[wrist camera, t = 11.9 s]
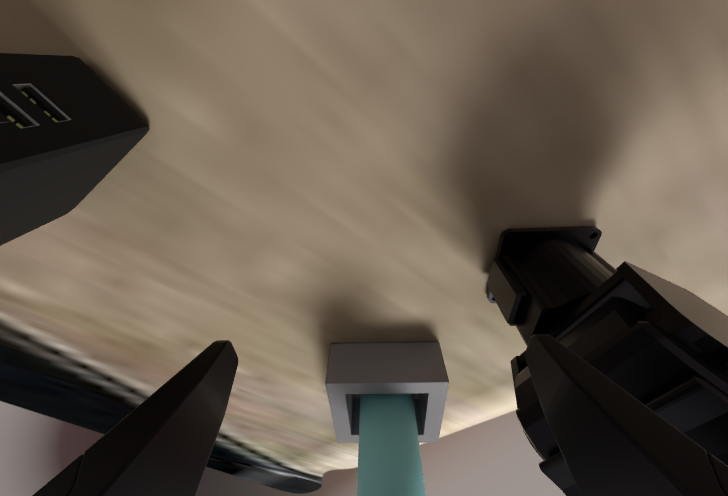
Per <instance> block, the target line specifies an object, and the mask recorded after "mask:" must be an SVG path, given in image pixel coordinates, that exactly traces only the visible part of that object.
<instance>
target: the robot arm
mask: <svg viewBox="0 0 728 496" xmlns="http://www.w3.org/2000/svg"><path fill="white" fill-rule="evenodd" d="M592 233H593V234H592ZM590 234H592V235H590ZM601 234H602V233H601V231H600V230H599V229H598V228H596V227H593V226H588V227H558V228H528V229H508V230H505V231H504V232H503V233H502V235H501V238H500V242H499V246H498V251H497V255H496V257H495V258H494V259H493V261H492V266H491V270H490V274H489V279H488V283H487V286H488V293H487V298H488V300H489V302H491V303H497V305H498V307H499V308H500V310H501V312H502V314H503V316H504V318H505V320H506V321H507V323H508V324H509V325H510V326H516V327H517V329H518V331H519V332H520V334H521V336H522V338H523V340H524V341H525V343H526V345H527V349H526V350H525V351H524V352H523V353H522V354H521V355H520V356H516V357H515V358H514V359H512V360H511V368H512V374H513V381H514V389H515V394H516V401H517V408H518V409H517V410H516V414H517V418H518V420H519V422H520V424H521V426H522V428H523V431H524V433H525V435H526V436H527V438H528V440H529V442H530V444H531V445H532V446H533V448H534V449H535V450H536V452H537V453H538V454H539V455H540V457H541V458H543V460H544V461H542V462H540V463H539V467H540V469H541V471H542V472H543V473H544V474H545V475H546V476H547V477H548V478H549V479H551V480H552V481H553V482H554V483H555V484H556V485H557V486H558V487H559V488H560V489H561V490H562V491H563V492H564V493H565V495H566V496H728V316H727V315H725V314H724V313H722V312H721V311H719V310H718V309H716V308H715V307H713V306H711V305H710V304H708V303H707V302H705V301H704V300H702V299H701V298H699V297H698V296H696V295H695V294H693V293H691V292H690V291H688V290H686V289H684V288H682V287H680V286H677V285H675V284H673V283H671V282H669V281H667V280H665V279H662V278H660V277H658V276H656V275H654V274H652V273H650V272H647V271H645V270H643V269H641V268H639V267H637V266H634V265H632V264H630V263H628V262H626V261H625V262H623V263H622V264H621V265H620V266H619V267H618V268H617V269H615V268H613V267H612V266H611V265H610V264H608V263H607V262H606V261H605V260H604V259H602V258H601V257H600V256H599V255H597V254H596V253H595V252H594V250H595V248H596V246H597V243H598V241H599V239H600V237H601ZM510 235H512V236H511V237H510V238H508V239H507V237H508V236H510ZM237 366H238V357H237V354H236V352H235V350H234V347H233V345H232V343H231V342H230V341H229V340H218V341H215V342H213V343H212V344H211V345H210V346H209V347H207V348H206V349H205V350H204V351H203V352H201V353H200V354H199V355H198V356H197V357H196V358H194V359H193V360H192V361H191V362H190V363H189V364H187V365H186V366H185V367H184V368H183V369H182V370H180V371H179V372H178V373H177V374H176V375H174V376H173V377H172V378H171V379H170V380H169V381H167V382H166V383H165V384H164V385H163V386H162V387H160V388H159V389H158V390H157V391H156V392H154V393H153V394H152V395H151V396H150V397H149V398H147V399H146V400H145V401H144V402H143V403H142V404H140V405H139V406H138V407H137V408H136V409H135V410H133V411H132V412H131V413H130V414H129V415H127V416H126V417H125V418H124V419H123V420H122V421H120V422H119V423H118V424H117V425H116V426H115V427H113V428H112V429H111V430H110V431H109V432H107V433H106V434H105V435H104V436H103V437H102V438H100V439H99V440H98V441H97V442H96V443H95V444H93V445H92V446H91V447H90V448H89V449H88V450H86V451H85V453H84V454H83V455H80V456H79V457H78V458H77V459H76V460H75V461H73V462H72V463H71V464H70V465H69V466H67V467H66V468H65V469H64V470H63V471H61V472H60V473H59V474H58V475H57V476H55V477H54V478H53V479H52V480H51V481H49V482H48V483H47V484H46V485H45V486H43V487H42V488H41V489H40V490H39V491H37V492H36V493H35V494H34V495H32V496H195V494H196V491H197V489H198V486H199V483H200V480H201V478H202V475H203V472H204V470H205V467H206V464H207V462H208V459H209V456H210V454H211V451H212V448H213V445H214V443H215V440H216V437H217V435H218V432H219V429H220V427H221V424H222V421H223V418H224V415H225V411H226V408H227V404H228V400H229V397H230V393H231V389H232V385H233V381H234V377H235V374H236V370H237Z"/></svg>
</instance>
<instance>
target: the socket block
mask: <svg viewBox="0 0 728 496" xmlns="http://www.w3.org/2000/svg"><path fill="white" fill-rule="evenodd" d="M325 385H326V390H327V394H328V399H329V404H330V409H331V414H332V419H333V424H334V428H335V433H336V438H337V443H359V422H360V394H401V393H413V400H414V408H415V416H416V423H417V431H418V439H419V442H438V440H439V434H440V429H441V423H442V418H443V413H444V407H445V402H446V396H447V391H448V386H449V380H448V376H447V372H446V368H445V364H444V360H443V356H442V352H441V348H440V344H439V342H399V343H339V344H331V348H330V354H329V361H328V368H327V375H326V382H325Z"/></svg>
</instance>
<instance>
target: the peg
mask: <svg viewBox="0 0 728 496" xmlns="http://www.w3.org/2000/svg"><path fill="white" fill-rule="evenodd" d="M357 487H358V488H357V496H426V493H425V486H424V478H423V470H422V462H421V454H420V446H419V439H418V431H417V423H416V416H415V408H414V400H413V393H401V394H360V422H359V454H358V486H357Z"/></svg>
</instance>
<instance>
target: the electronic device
mask: <svg viewBox="0 0 728 496" xmlns="http://www.w3.org/2000/svg"><path fill="white" fill-rule="evenodd" d="M148 131H149V126H148V125H147V124H146V123H145V122H144V121H143V120H142V119H141V118H140V117H138V116H137V115H136V114H135V113H134V112H133V111H132V110H131V109H130V108H129V107H128V106H127V105H126V104H125V103H124V102H123V101H122V100H121V99H120V98H119V97H118V96H117V95H116V94H115V93H114V92H113V91H112V90H111V89H110V88H109V87H108V86H107V85H106V84H105V83H104V82H103V81H102V80H101V79H100V78H99V77H98V76H97V75H96V74H95V73H94V72H93V71H92V70H91V69H90V68H89V67H88V66H87V65H86V64H85V63H84V62H83V61H82V60H81V59H80V58H77V57H74V56H55V55H31V54H8V53H0V246H1V245H3V244H5V243H7V242H9V241H11V240H13V239H15V238H17V237H19V236H21V235H24V234H26V233H28V232H30V231H32V230H34V229H36V228H38V227H40V226H42V225H45V224H47V223H49V222H51V221H53V220H55V219H57V218H59V217H61V216H63V215H65V214H67V213H68V212H70V211H71V210H72V209H74V208H75V207H76V206H77V205H78V204H79V203H80V202H81V201H82V200H83V199H84V198H85V197H86V196H87V194H88V193H89V192H90V191H91V190H92V189H93V188H94V187H95V186H96V185H97V184H98V183H99V182H100V181H101V180H102V179H103V178H104V177H105V176H106V175H107V174H108V173H109V172H110V171H111V170H112V169H113V168H114V167H115V166H116V165H117V163H118V162H119V161H120V160H121V159H122V158H123V157H124V156H125V155H126V154H127V153H128V152H129V151H130V150H131V149H132V148H133V147H134V146H135V145H136V144H137V143H138V142H139V141H140V140H141V139H142V138H143V137H144V136H145V135H146V133H147V132H148Z"/></svg>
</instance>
